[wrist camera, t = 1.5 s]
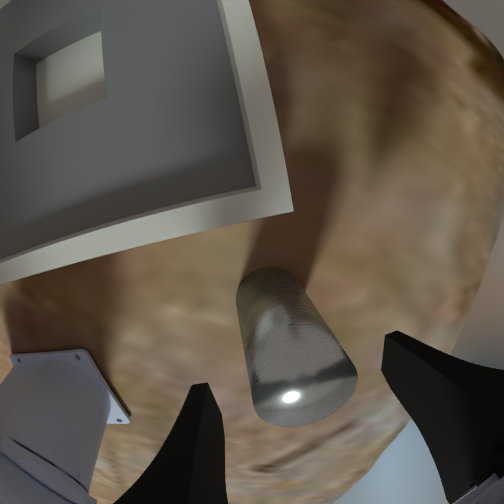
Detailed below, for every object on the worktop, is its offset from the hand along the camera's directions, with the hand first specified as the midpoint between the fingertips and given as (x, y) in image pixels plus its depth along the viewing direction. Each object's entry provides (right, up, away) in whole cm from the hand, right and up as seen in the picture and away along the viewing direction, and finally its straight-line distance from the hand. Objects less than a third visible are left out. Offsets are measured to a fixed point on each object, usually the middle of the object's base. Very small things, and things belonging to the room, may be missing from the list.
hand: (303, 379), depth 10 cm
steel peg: (-1, +2, +7) cm, 7 cm away
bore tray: (-12, +14, +1) cm, 18 cm away
